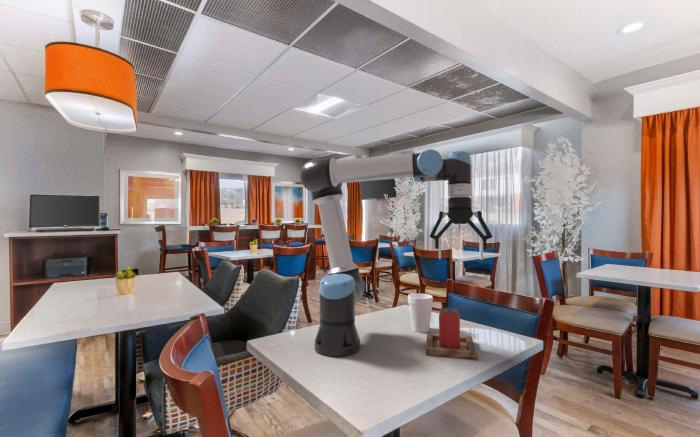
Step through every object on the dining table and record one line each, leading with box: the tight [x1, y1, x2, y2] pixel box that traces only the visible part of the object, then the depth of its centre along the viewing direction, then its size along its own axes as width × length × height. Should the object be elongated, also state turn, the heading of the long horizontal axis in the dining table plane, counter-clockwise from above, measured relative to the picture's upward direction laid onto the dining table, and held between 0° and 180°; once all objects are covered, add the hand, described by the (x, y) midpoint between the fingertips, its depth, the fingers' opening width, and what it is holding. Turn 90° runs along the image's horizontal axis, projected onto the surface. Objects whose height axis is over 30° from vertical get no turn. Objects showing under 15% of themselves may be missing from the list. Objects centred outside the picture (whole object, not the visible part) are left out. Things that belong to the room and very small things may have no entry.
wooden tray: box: [425, 332, 478, 361], centre depth 107 cm, size 15×17×2 cm
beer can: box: [438, 307, 461, 349], centre depth 107 cm, size 7×7×12 cm
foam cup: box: [407, 293, 434, 333], centre depth 126 cm, size 10×9×13 cm
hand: (460, 259), depth 112 cm, fingers open, 13 cm apart
